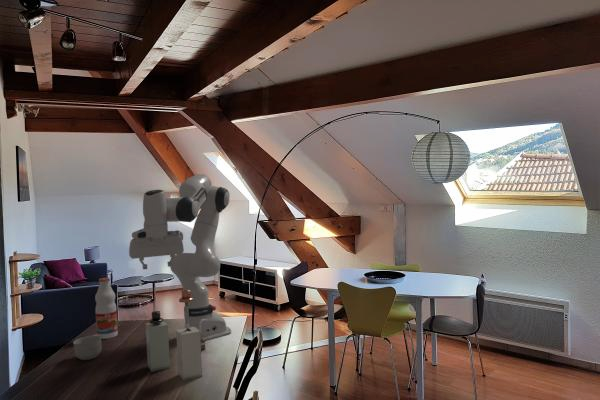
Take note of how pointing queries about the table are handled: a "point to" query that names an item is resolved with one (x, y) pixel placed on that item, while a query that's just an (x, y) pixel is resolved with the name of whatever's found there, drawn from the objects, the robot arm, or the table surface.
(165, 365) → the block
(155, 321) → the black plunger
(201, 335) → the architectural model
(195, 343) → the block
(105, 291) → the fruit juice
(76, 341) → the teacup
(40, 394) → the table surface
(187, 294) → the terracotta plunger
